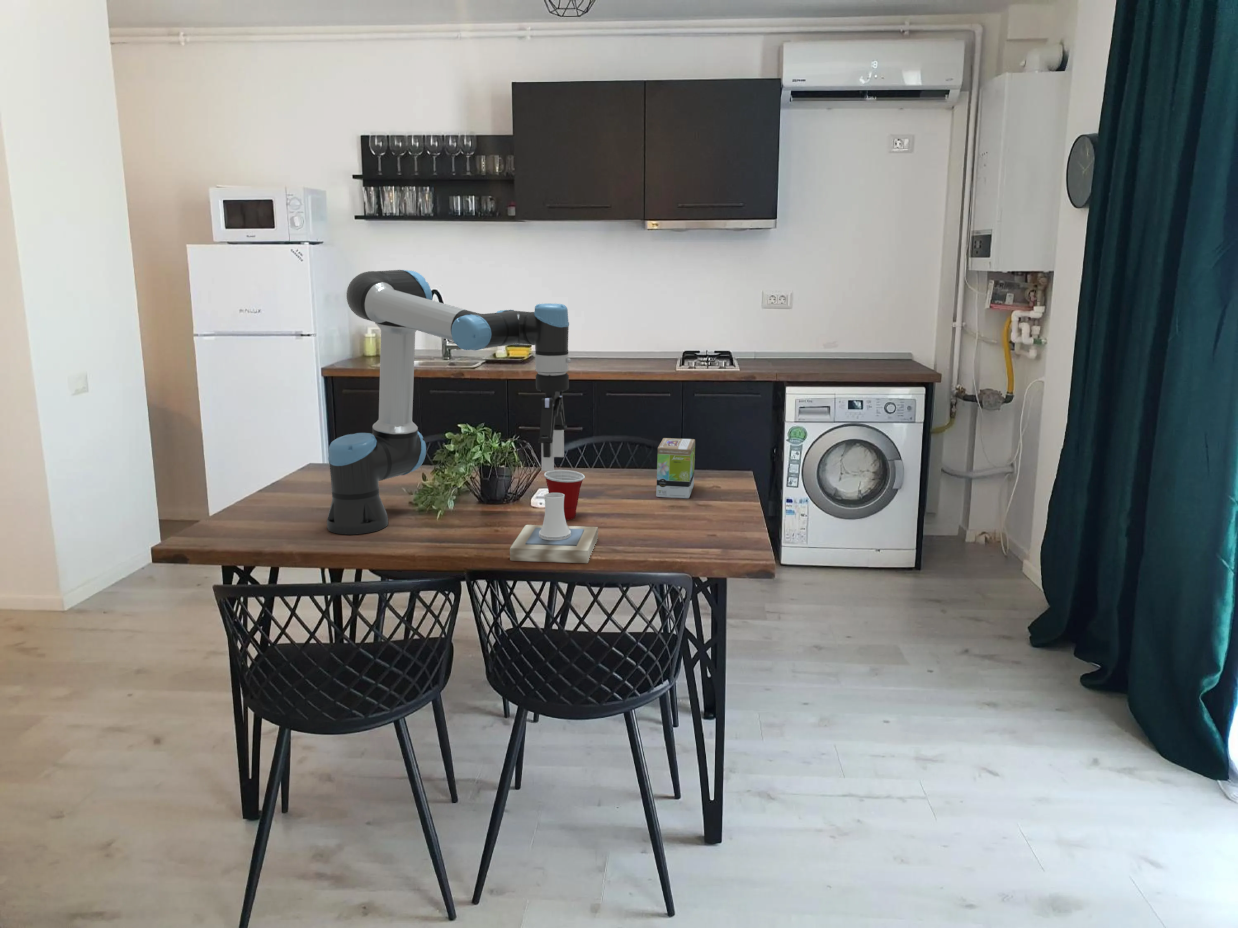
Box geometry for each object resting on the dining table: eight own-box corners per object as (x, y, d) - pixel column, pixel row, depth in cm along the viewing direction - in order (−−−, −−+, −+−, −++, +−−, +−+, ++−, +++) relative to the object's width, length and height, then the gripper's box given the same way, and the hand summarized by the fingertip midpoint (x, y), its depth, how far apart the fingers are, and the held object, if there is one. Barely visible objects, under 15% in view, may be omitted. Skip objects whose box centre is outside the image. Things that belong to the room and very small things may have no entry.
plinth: (510, 560, 208) (509, 546, 208) (526, 536, 226) (525, 523, 225) (587, 563, 207) (587, 549, 206) (598, 538, 224) (597, 525, 223)
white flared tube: (577, 535, 216) (576, 494, 213) (554, 542, 210) (553, 501, 208) (555, 528, 221) (554, 489, 218) (532, 536, 215) (531, 495, 213)
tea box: (690, 499, 259) (691, 448, 255) (655, 497, 260) (655, 447, 257) (694, 485, 273) (695, 437, 270) (661, 484, 275) (661, 436, 271)
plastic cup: (580, 524, 235) (579, 479, 233) (539, 522, 237) (538, 477, 235) (589, 512, 246) (589, 469, 243) (551, 510, 248) (550, 467, 245)
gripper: (559, 381, 194) (559, 477, 199) (576, 365, 218) (577, 451, 223) (524, 380, 195) (526, 476, 200) (546, 365, 219) (547, 450, 224)
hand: (553, 463), depth 211 cm, fingers open, 13 cm apart
